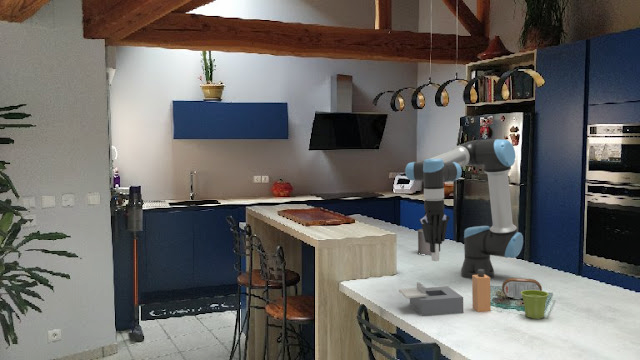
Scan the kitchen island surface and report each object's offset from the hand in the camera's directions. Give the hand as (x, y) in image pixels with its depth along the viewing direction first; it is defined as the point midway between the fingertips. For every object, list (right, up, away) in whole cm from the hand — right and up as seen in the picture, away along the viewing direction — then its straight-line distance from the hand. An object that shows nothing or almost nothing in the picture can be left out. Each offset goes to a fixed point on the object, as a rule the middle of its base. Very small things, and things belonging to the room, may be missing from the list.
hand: (435, 260), depth 216 cm
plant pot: (+34, -19, -11) cm, 40 cm away
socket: (+1, -19, +2) cm, 19 cm away
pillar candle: (+16, -11, +102) cm, 104 cm away
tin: (+37, -17, +10) cm, 42 cm away
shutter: (-9, -13, +1) cm, 16 cm away
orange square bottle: (+17, -19, -1) cm, 25 cm away
